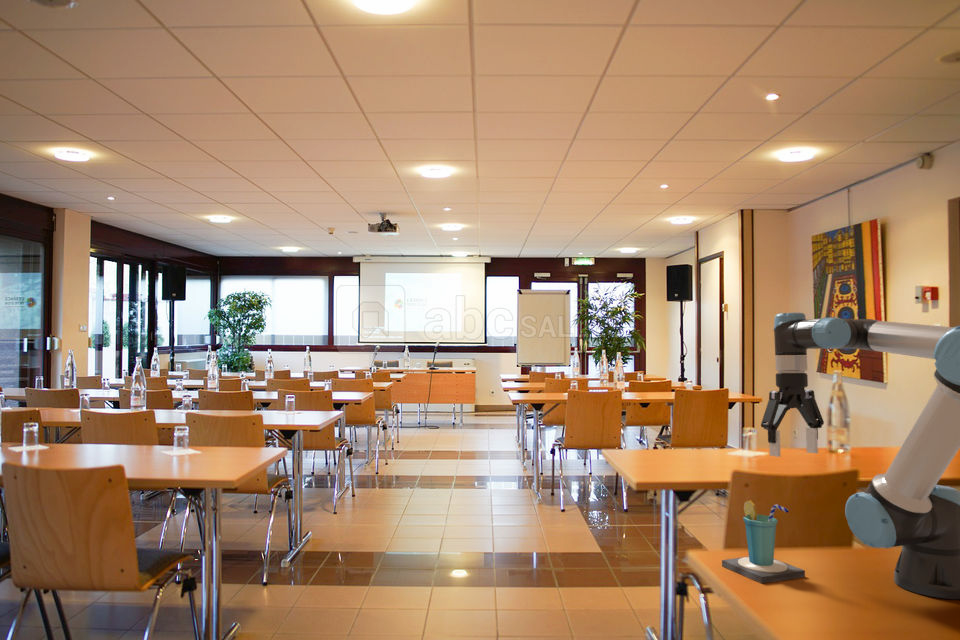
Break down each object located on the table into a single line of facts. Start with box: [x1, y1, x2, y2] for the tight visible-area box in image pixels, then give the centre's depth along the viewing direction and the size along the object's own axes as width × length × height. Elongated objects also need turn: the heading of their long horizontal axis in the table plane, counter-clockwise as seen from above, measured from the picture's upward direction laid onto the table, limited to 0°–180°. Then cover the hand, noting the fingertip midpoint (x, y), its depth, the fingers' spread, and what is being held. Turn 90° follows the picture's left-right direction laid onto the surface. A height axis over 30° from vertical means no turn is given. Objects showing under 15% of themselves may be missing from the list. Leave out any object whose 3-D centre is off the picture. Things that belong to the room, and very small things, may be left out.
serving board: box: [721, 556, 806, 584], centre depth 157 cm, size 13×13×2 cm
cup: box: [743, 500, 789, 566], centre depth 158 cm, size 14×8×15 cm, turn 26°
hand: (793, 454), depth 168 cm, fingers open, 13 cm apart
